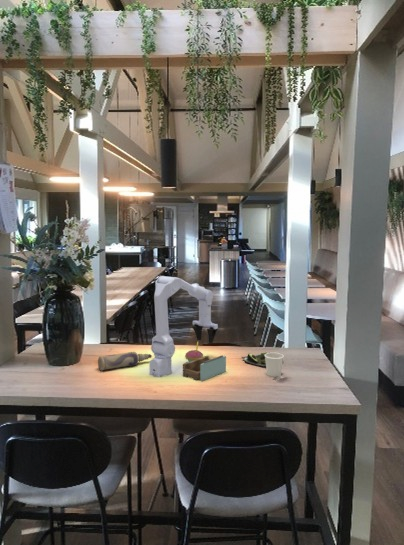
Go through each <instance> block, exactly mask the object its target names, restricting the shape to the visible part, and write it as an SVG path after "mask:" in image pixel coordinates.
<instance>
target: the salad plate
mask: <svg viewBox="0 0 404 545" xmlns="http://www.w3.org/2000/svg"><path fill="white" fill-rule="evenodd" d="M266 353H268V352H261V353H257V354H252V353H247V356H243V357H241V359H243V361H244V362H245V364H246V365H249V366H253V367H256V368H257V367H258V368H262V369H266V361H265V356H264V355H265V354H266Z"/></svg>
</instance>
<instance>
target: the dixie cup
mask: <svg viewBox="0 0 404 545" xmlns="http://www.w3.org/2000/svg"><path fill="white" fill-rule="evenodd" d="M265 353H266V352H265ZM264 356H265V361H266V368H265V369H266V375H267V376H268V377H275V378H273V379H272V380H273V381H274V380H275V381H276V380H280V379H281V375H282V370H283V362H284V357H285V356H284V354H283V353H279V352H267V353H266V354H265V355H264Z"/></svg>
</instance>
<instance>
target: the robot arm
mask: <svg viewBox="0 0 404 545" xmlns="http://www.w3.org/2000/svg"><path fill="white" fill-rule="evenodd" d="M154 284H155V290H154V296H153V297H154V298H153V299H154V300H153V302H154V315H155V316H154V318H155V319H154V320H155V331H156V332H155V333H156V335H155V336H154V337H152V339H151V340H152V343H151V347H150V349H151V352H152V353H153V356H154V358H152V359H151V360H150V361H149V376H153V377H156V378H161V377H164V376H169V375H171V374H172V368H173V367H172V357H173V356H174V354H175V352H176V345H175V344H174V339H173V338H172V336H171V335H170V330H169V329H170V327H169V308H168V307H169V306H168V299H170V297H172V296H173V295H174V294H175V293H177V292H178V291H179V290H184V291H187V293H188V295H189V296H191V297H193V298H195V299H196V300H197V301H198V320H197V319H196V320H192V325H193V326H192V329H193V332H195V336H196V341H202V332H203V327H204V328H207V329H206V331H207V334H208V343H209V344H212V343H214V340H215V336H216V334H217V332H218V329H219V325H218V323H214V322H212V308H211V307H212V303H213V299H214V295H215V294H214V293H213V291H212V290H210V289H206V288H205V287H204V286H200V284H199V283H189V282H187V281H185V280H184V279H182V278H179V277H176V276H174V277H173V276H165V275H160V276H159V277H157V279H156V280H155V283H154Z"/></svg>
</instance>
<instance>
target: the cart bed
mask: <svg viewBox="0 0 404 545" xmlns="http://www.w3.org/2000/svg"><path fill="white" fill-rule="evenodd" d="M207 360H210V356H209V355H205V356H203V357H202V358H199V359H196V360H193V361H190V362H188V361H187V362H185V363H183V364H182V377H184V378H191V379H193V381H196V382H198V381H201V376H200V364H203V363H204V362H205V361H207ZM201 382H202V381H201Z"/></svg>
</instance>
